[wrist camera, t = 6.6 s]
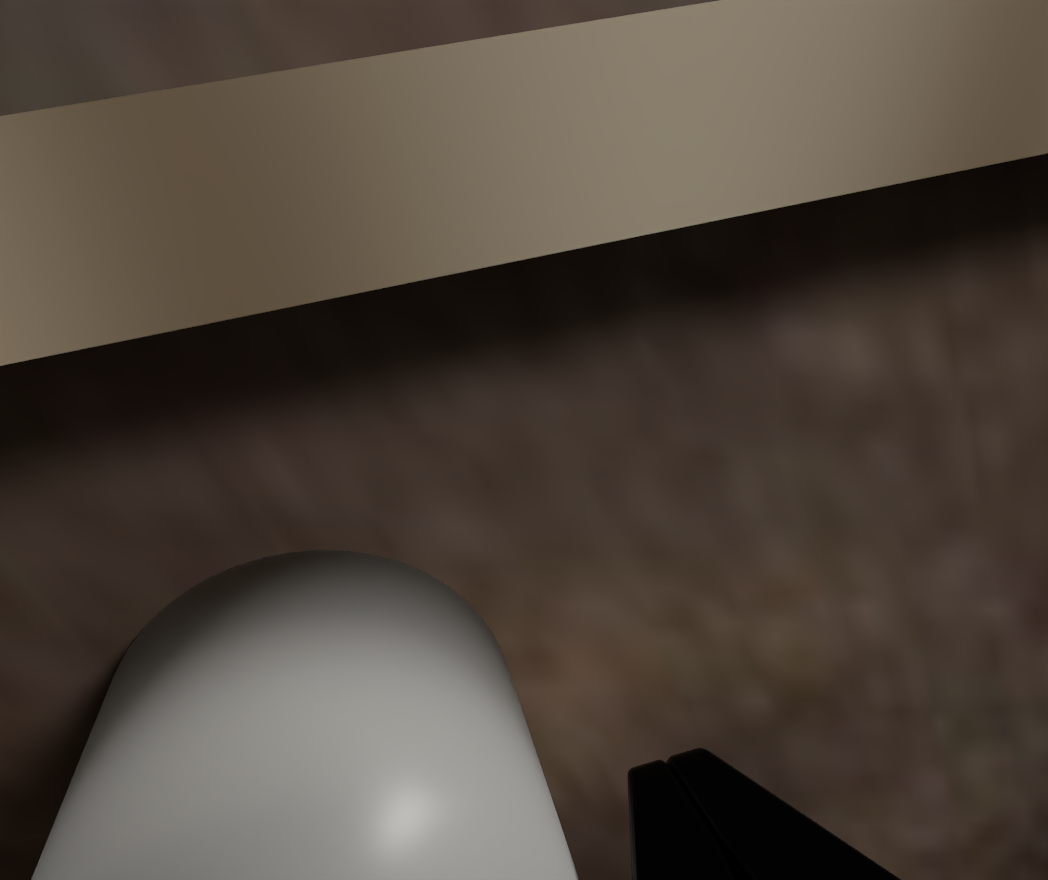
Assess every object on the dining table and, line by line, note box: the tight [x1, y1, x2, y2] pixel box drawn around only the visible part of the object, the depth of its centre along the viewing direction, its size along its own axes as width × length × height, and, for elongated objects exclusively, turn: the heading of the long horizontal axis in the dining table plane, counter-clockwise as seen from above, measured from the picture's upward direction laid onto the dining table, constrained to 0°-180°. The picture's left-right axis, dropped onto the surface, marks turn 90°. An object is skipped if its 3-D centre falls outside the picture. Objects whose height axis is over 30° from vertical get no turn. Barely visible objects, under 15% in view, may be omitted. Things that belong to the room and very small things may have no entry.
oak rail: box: [0, 0, 1048, 366], centre depth 7 cm, size 22×2×3 cm, turn 100°
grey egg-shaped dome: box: [31, 550, 579, 880], centre depth 9 cm, size 5×5×4 cm
